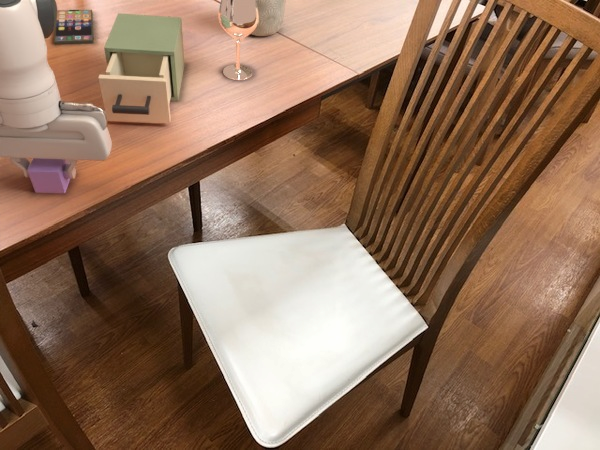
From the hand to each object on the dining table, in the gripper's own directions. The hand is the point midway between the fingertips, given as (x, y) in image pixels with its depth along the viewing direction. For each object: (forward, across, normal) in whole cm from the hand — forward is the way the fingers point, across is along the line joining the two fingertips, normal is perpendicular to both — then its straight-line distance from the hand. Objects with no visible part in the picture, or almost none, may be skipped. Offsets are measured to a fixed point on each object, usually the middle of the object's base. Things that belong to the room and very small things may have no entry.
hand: (51, 175), depth 81 cm
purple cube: (+2, 0, 0) cm, 2 cm away
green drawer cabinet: (+2, -11, -33) cm, 35 cm away
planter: (+2, -34, -60) cm, 69 cm away
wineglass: (+2, -29, -38) cm, 48 cm away
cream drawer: (+1, -11, -21) cm, 24 cm away
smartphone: (+2, +9, -54) cm, 55 cm away
